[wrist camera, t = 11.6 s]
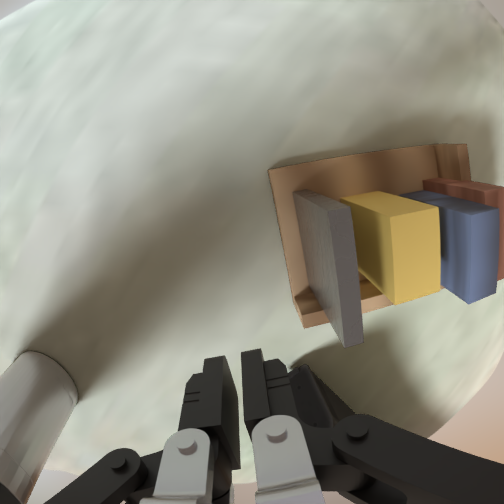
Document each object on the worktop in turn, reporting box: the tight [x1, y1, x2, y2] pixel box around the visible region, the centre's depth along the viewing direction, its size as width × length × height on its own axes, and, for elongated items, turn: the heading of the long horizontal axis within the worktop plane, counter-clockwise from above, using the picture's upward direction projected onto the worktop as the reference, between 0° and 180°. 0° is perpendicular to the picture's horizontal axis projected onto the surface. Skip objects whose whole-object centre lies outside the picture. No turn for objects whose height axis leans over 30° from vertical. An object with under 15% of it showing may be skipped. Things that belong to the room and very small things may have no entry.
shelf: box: [268, 144, 504, 329], centre depth 22 cm, size 17×12×12 cm
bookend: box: [292, 189, 364, 348], centre depth 21 cm, size 1×8×10 cm, turn 12°
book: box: [340, 191, 441, 305], centre depth 22 cm, size 4×6×9 cm, turn 11°
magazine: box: [288, 364, 356, 428], centre depth 30 cm, size 17×3×30 cm
